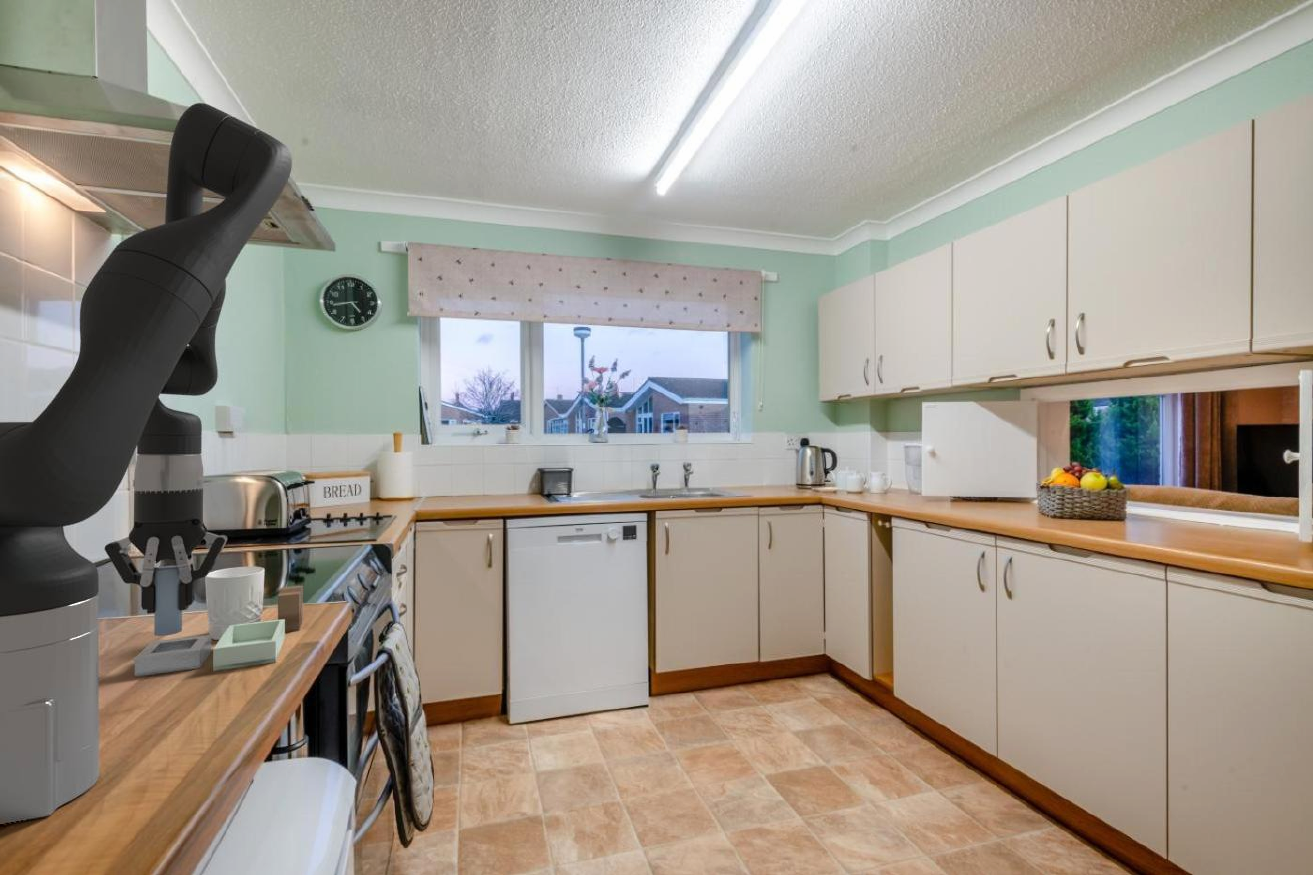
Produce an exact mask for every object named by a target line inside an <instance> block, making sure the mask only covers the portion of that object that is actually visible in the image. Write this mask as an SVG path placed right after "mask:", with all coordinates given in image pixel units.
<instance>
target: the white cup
mask: <svg viewBox="0 0 1313 875" xmlns="http://www.w3.org/2000/svg"><path fill="white" fill-rule="evenodd" d="M204 582H205V584H204V585H205V601H206V610H207V611H206V614H207V620H208V622H209V623H208V630H209V631H208V632H209V634H208V635H211V640H215V641H219V640H220V639H221V637H222V636H223V634H224V633H225V631H226V630H227V629H228V627H229V626H230V625H238V624H247V623H255V622H262V614H263V605H264V587H265V586H264V585H265V568H264V567H261V566H238V567H228V568H222V569H217V570H214V571H211V572H210V573H209V574H208V575H207V576H205V577H204Z"/></svg>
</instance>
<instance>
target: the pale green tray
mask: <svg viewBox="0 0 1313 875" xmlns="http://www.w3.org/2000/svg"><path fill="white" fill-rule="evenodd" d="M285 639H286V632H285V619H282V620H278V619H275V620H266V621H265V620H264V621H261V622H255V623H247V624H238V625H230V626H229V627H228V629H227V630H226V631H225V633H224V634H223V636H222V637H221V639H220V640H218V642H216V644H215V646H214V647H213V649H212V651H213V653H212V655H213V656H212V657H213V658H212V659H213V660H212V661H213V662H212V663H213V665H212V667H213V668H212V671H213V672H216V671H217V672H218V671H223V670H224V671H225V670H230V669H231V670H232V669H238V668H246V667H252V666H259V665H265V664H273V663H277V660H278V658H279V654H280V652H281V649H282V647H283V644H284V642H285Z"/></svg>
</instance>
